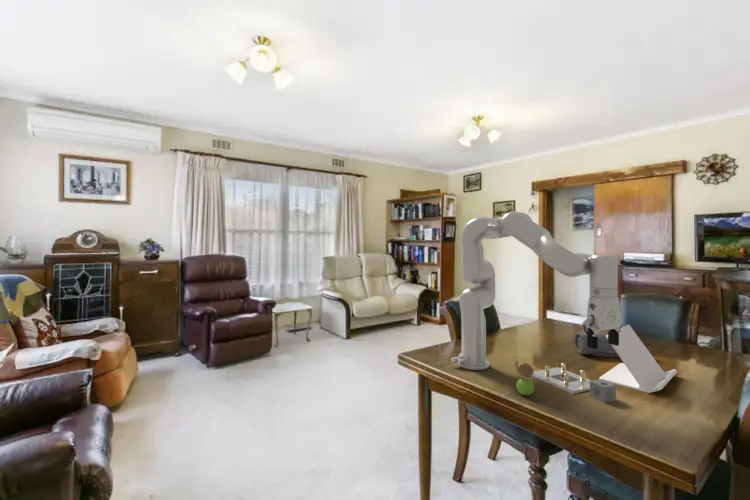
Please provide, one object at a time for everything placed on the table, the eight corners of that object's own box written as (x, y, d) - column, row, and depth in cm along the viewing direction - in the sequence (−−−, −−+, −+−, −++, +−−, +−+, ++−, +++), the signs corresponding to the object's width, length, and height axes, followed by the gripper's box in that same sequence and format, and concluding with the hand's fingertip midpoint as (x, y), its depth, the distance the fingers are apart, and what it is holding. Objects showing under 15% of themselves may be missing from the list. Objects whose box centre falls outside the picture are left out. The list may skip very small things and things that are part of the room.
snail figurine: (516, 389, 122) (516, 354, 122) (536, 394, 118) (536, 358, 118) (510, 394, 118) (511, 358, 118) (531, 399, 114) (531, 362, 114)
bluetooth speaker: (626, 352, 161) (627, 330, 160) (639, 359, 152) (640, 336, 151) (573, 351, 163) (573, 329, 163) (583, 358, 154) (583, 334, 153)
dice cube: (603, 403, 112) (603, 387, 112) (589, 396, 117) (590, 381, 116) (615, 401, 113) (616, 385, 113) (602, 394, 118) (602, 379, 118)
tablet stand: (598, 380, 130) (599, 333, 129) (620, 364, 146) (620, 323, 146) (661, 396, 116) (662, 344, 116) (677, 377, 132) (678, 331, 132)
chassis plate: (572, 393, 118) (572, 380, 118) (530, 374, 135) (530, 363, 135) (602, 387, 123) (602, 374, 123) (557, 369, 140) (557, 358, 140)
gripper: (595, 296, 107) (595, 353, 108) (633, 292, 114) (633, 346, 114) (573, 293, 114) (573, 346, 115) (610, 289, 121) (610, 340, 121)
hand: (603, 346), depth 114 cm, fingers open, 9 cm apart
